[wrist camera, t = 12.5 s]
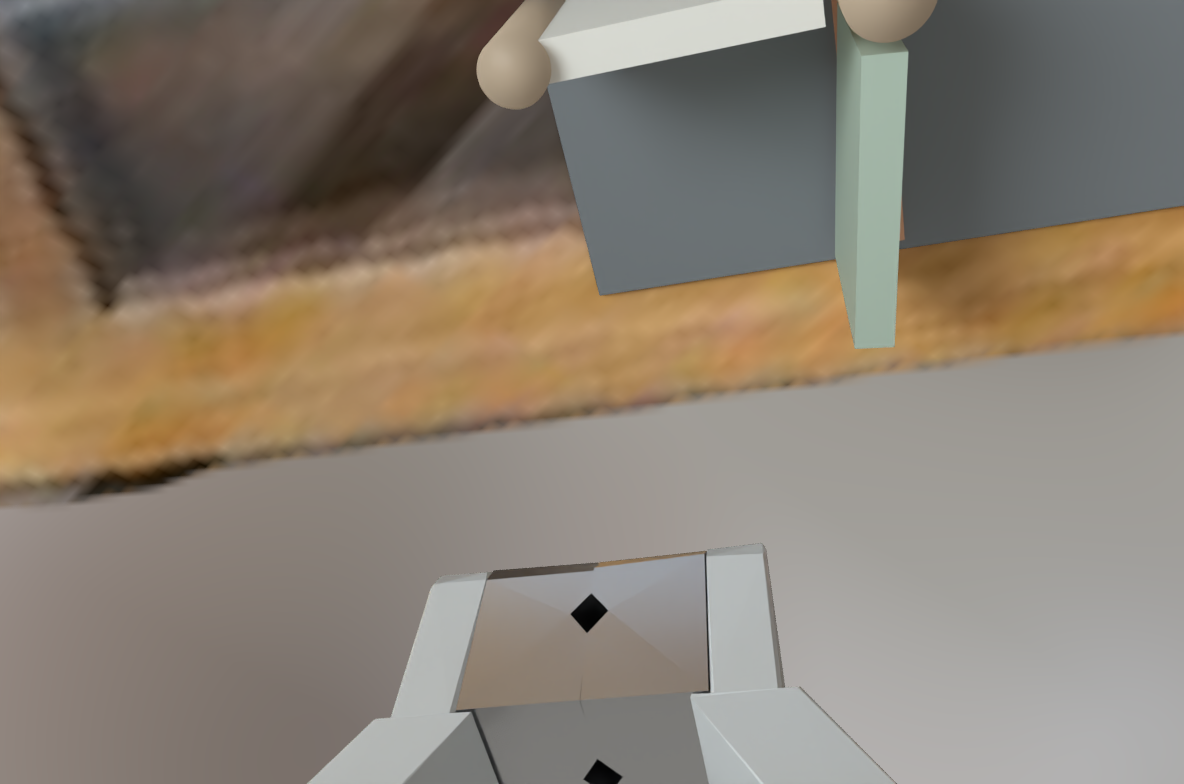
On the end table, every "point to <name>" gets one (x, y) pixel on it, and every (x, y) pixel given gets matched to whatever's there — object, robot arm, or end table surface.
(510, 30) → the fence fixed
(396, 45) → the end table surface
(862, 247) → the fence gate
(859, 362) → the end table surface
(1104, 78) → the card
